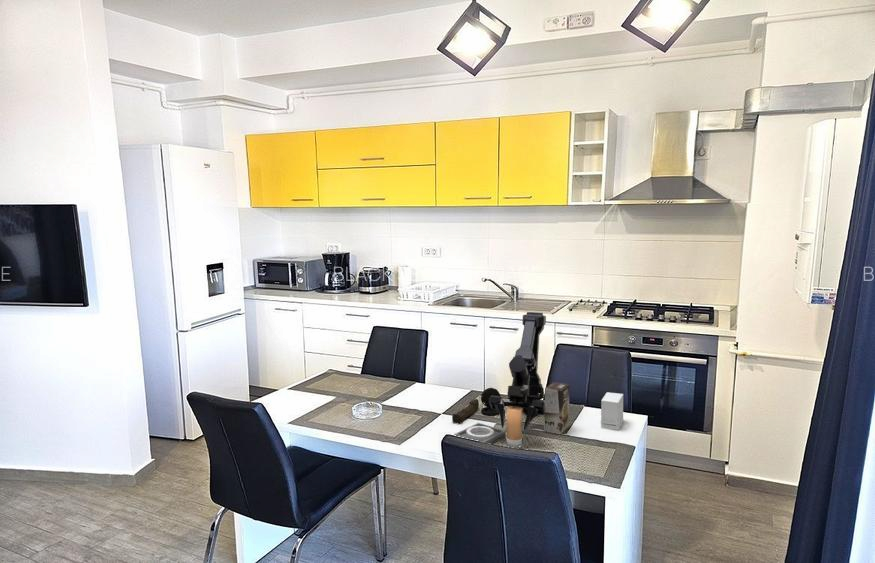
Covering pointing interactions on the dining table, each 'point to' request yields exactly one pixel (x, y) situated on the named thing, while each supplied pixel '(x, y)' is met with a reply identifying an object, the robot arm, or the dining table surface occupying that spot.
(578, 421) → the dining table surface
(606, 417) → the skincare box
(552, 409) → the coffee box
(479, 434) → the housing
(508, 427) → the peach bulb knob
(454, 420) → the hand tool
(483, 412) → the webcam
